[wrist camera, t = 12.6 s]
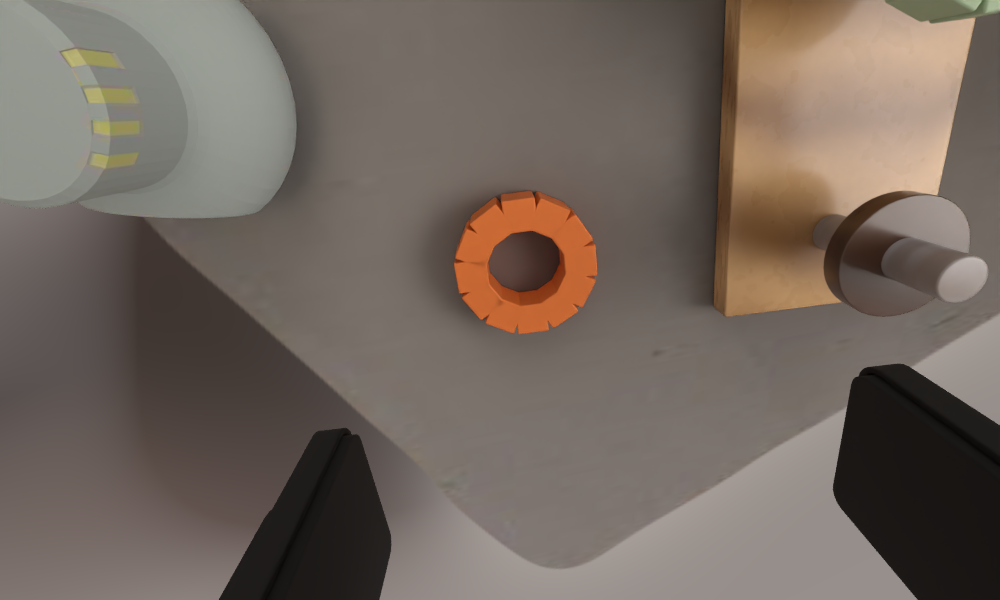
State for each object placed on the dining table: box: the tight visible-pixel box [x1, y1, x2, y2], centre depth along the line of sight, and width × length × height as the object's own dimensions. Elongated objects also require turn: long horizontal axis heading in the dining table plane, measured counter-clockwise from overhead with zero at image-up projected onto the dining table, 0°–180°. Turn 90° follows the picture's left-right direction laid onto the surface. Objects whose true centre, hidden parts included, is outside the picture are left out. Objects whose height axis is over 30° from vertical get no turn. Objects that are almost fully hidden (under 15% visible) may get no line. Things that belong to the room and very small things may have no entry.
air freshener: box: [0, 0, 297, 218], centre depth 17 cm, size 11×8×10 cm
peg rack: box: [714, 0, 988, 317], centre depth 19 cm, size 20×10×9 cm, turn 8°
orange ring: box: [454, 191, 597, 334], centre depth 24 cm, size 7×7×2 cm
